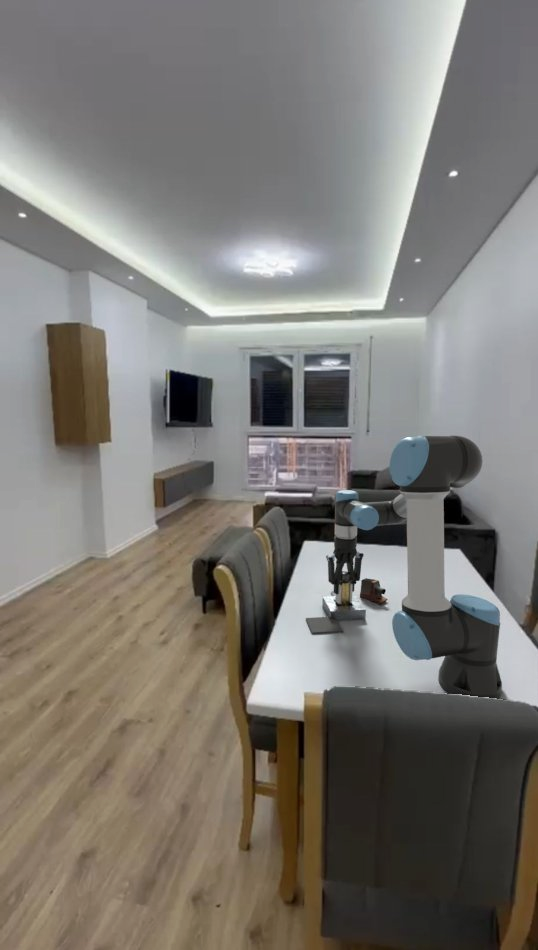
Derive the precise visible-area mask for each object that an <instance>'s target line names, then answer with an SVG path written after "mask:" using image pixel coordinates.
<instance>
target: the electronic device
mask: <svg viewBox="0 0 538 950" xmlns="http://www.w3.org/2000/svg"><path fill="white" fill-rule="evenodd" d="M360 581H361V585H360V591H359V592H360V593H359V598H361V599H364V600H367V601H371V602H374V603H377V604H378V605H382V604H384V603H386V602H387V601H388V600H389V599H388V598H387V597H384V596H382V595H386V594H385V593H386V589H385V588H383V587H381V584H380V580H378V579H373V578H366V577H365V578H363V579H360Z"/></svg>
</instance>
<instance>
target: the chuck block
mask: <svg viewBox="0 0 538 950" xmlns="http://www.w3.org/2000/svg"><path fill="white" fill-rule="evenodd" d="M335 595H336V594H335V593H334V590H332V591H331V592H330V595H329V596H328V595H327V596H322V605H321V606H322V608H323V609H324V611H325V613H326V615H327V617H330V619H337V621H338V622H341V621H360V620H361V621H362V620H366V617H367V616H366V613H367V612H366V611H367V609H366V608H365V606H364V605H363V603H362V602H361V601H360V600H359V598H358V596H357V595H355V594H352V602H349V606H342V607H338V603H337V602H336V601H335Z"/></svg>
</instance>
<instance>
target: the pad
mask: <svg viewBox="0 0 538 950" xmlns="http://www.w3.org/2000/svg"><path fill="white" fill-rule="evenodd" d="M305 621H306V624H307V625H308V628H309V631H310V630H311V631H310V632H311V635H320V634H321V635H322V634H337V633H338V634H340V633H342V634H343V632H344V629H343V628H342V627H341V625H340V623H339V621H337V619H330V617H328V616H319V617H316V616H315V617H305Z"/></svg>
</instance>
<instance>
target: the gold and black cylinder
mask: <svg viewBox="0 0 538 950" xmlns="http://www.w3.org/2000/svg"><path fill="white" fill-rule="evenodd" d="M349 581H350V573H349V572H348V571H344V570H342V574H341V579H340V585H341V586H342V588H341V604H338V607H342V606H349Z"/></svg>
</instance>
